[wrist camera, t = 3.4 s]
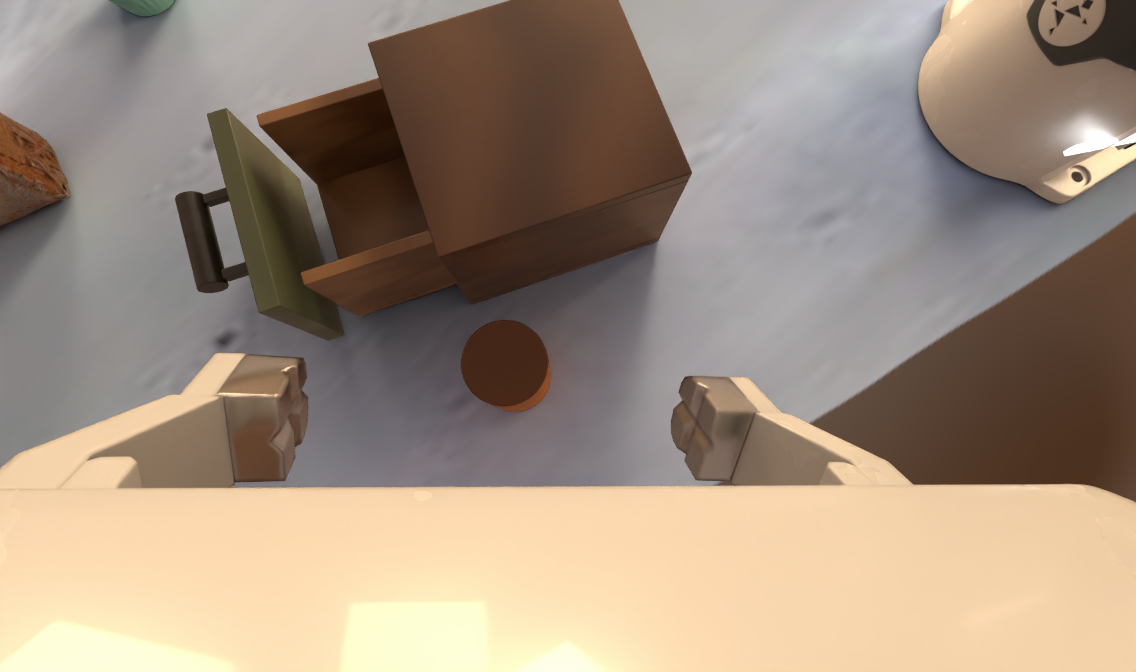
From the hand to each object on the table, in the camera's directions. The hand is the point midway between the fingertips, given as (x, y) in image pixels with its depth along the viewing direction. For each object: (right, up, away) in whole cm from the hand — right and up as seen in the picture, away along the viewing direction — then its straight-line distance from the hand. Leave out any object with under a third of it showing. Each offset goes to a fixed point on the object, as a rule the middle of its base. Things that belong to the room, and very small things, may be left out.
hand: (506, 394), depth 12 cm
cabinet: (-1, +12, +29) cm, 32 cm away
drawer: (-13, +8, +28) cm, 32 cm away
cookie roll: (-2, -2, +27) cm, 27 cm away
